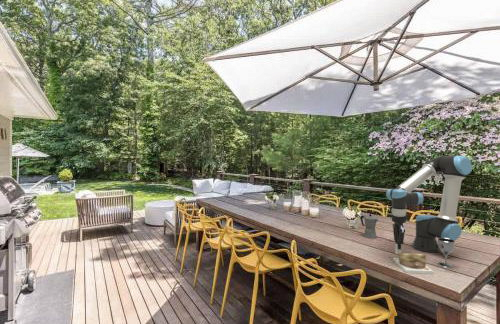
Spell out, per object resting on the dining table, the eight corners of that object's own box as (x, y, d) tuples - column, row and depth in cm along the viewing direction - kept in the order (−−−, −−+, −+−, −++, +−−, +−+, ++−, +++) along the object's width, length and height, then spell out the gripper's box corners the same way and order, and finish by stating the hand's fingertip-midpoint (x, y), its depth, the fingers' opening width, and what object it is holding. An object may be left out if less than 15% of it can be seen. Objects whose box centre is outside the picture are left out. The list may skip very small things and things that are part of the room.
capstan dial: (419, 259, 164) (419, 249, 164) (430, 268, 151) (431, 258, 151) (394, 258, 166) (395, 249, 166) (404, 267, 153) (404, 257, 153)
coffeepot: (381, 237, 213) (381, 214, 212) (374, 239, 208) (374, 216, 207) (363, 232, 226) (363, 211, 225) (356, 234, 220) (356, 212, 220)
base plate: (417, 261, 167) (417, 257, 167) (433, 274, 149) (433, 270, 149) (393, 260, 168) (393, 256, 168) (406, 272, 151) (406, 269, 151)
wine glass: (442, 267, 157) (442, 241, 157) (435, 262, 165) (435, 237, 164) (457, 268, 156) (457, 242, 155) (449, 262, 164) (449, 238, 163)
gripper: (388, 212, 172) (387, 249, 172) (396, 217, 159) (396, 257, 159) (401, 213, 171) (400, 250, 171) (410, 218, 158) (409, 258, 158)
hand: (398, 253), depth 165 cm, fingers closed
